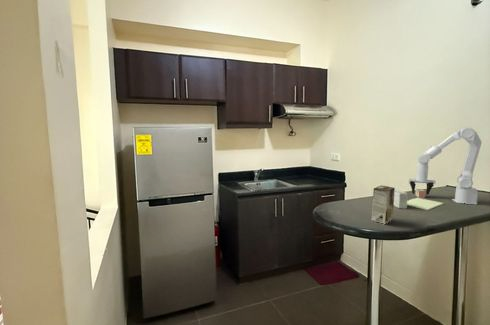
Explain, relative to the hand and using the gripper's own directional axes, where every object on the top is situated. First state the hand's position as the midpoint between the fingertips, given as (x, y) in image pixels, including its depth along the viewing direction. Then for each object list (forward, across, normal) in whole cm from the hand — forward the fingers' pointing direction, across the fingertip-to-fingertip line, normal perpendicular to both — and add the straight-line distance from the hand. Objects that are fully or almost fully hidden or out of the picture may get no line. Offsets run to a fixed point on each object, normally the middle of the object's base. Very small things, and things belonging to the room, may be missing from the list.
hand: (420, 193), depth 164 cm
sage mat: (+2, +4, +18) cm, 19 cm away
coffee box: (+2, +31, +56) cm, 64 cm away
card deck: (+2, 0, 0) cm, 2 cm away
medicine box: (+2, +18, +28) cm, 33 cm away
